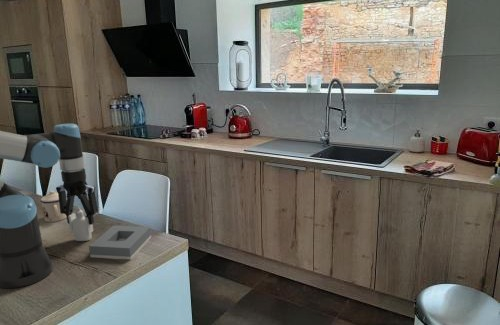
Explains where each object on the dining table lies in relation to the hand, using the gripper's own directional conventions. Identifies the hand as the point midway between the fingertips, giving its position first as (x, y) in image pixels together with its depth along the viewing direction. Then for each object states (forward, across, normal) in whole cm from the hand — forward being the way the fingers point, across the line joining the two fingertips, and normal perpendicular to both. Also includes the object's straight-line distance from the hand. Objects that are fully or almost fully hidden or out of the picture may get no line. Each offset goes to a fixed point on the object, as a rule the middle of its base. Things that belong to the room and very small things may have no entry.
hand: (82, 231), depth 137 cm
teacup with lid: (+3, +22, -16) cm, 27 cm away
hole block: (+3, -17, +4) cm, 18 cm away
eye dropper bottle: (+3, 0, 0) cm, 3 cm away
